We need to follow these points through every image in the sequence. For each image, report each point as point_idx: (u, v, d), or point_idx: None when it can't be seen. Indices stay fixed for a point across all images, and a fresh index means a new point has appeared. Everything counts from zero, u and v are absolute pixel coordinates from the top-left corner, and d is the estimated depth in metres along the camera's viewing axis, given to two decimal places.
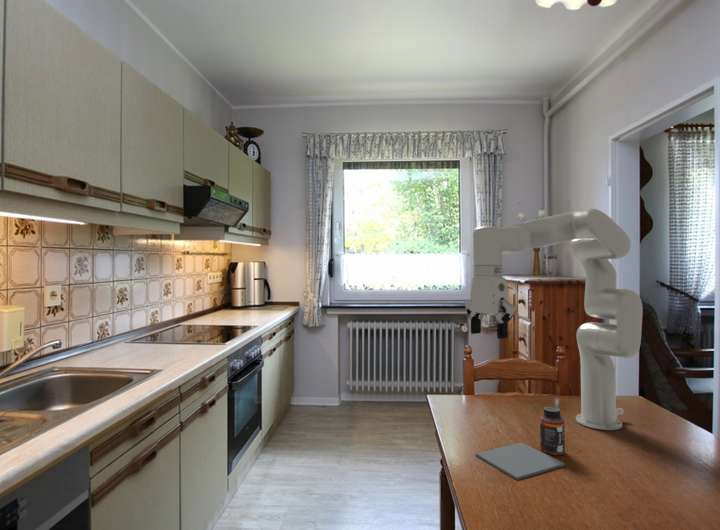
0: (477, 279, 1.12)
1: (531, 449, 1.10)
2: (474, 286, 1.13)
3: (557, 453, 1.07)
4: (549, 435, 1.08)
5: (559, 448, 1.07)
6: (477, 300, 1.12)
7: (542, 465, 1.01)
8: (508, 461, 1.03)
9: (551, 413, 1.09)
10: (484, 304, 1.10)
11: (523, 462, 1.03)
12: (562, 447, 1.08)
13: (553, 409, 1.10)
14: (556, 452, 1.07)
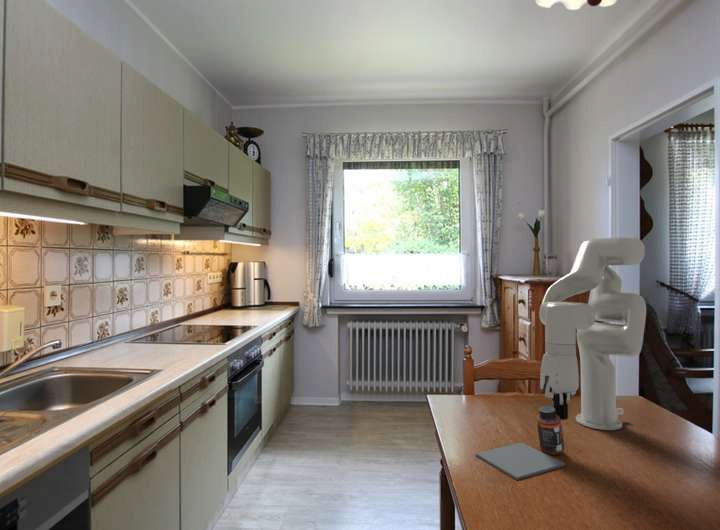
0: (564, 358, 1.09)
1: (531, 449, 1.10)
2: (560, 366, 1.08)
3: (557, 452, 1.07)
4: (547, 436, 1.07)
5: (558, 447, 1.07)
6: (564, 380, 1.09)
7: (542, 465, 1.01)
8: (508, 461, 1.03)
9: (547, 414, 1.08)
10: (570, 382, 1.10)
11: (523, 462, 1.03)
12: (561, 446, 1.07)
13: (548, 409, 1.09)
14: (556, 452, 1.07)
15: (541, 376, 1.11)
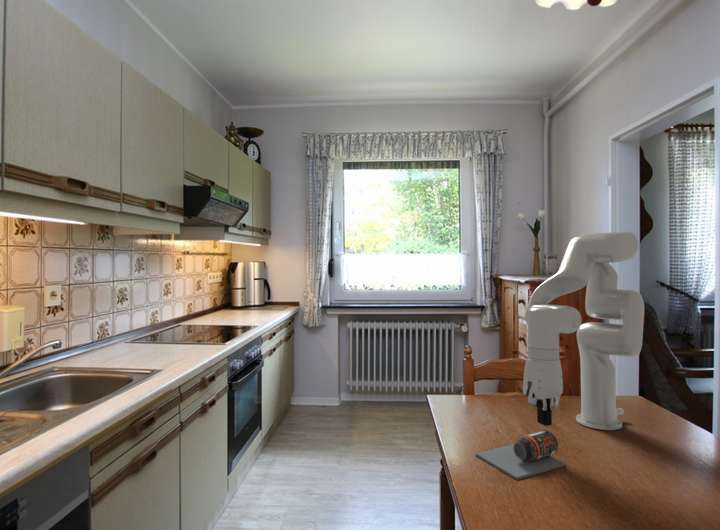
0: (547, 363, 1.07)
1: None
2: (543, 371, 1.06)
3: (553, 453, 1.06)
4: None
5: (551, 454, 1.05)
6: (547, 386, 1.06)
7: (542, 465, 1.01)
8: (508, 461, 1.03)
9: None
10: (554, 388, 1.08)
11: (523, 462, 1.03)
12: (553, 451, 1.04)
13: (520, 451, 1.02)
14: None
15: (524, 381, 1.09)
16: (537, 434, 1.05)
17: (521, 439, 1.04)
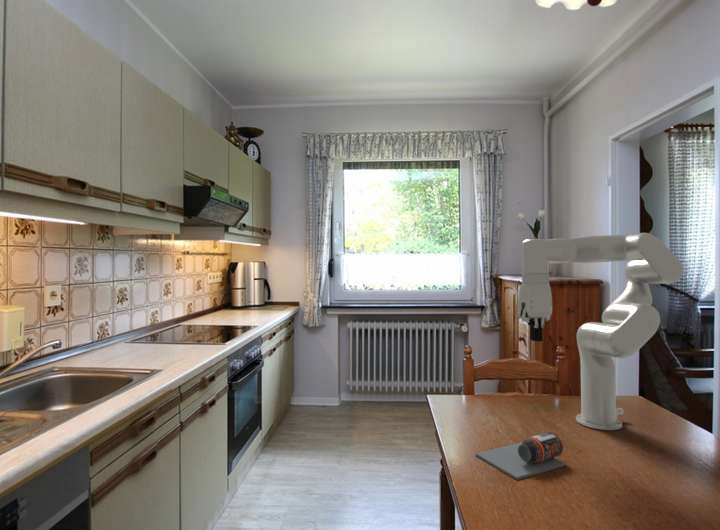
0: (538, 286, 1.22)
1: None
2: (534, 293, 1.22)
3: None
4: None
5: None
6: (538, 306, 1.22)
7: (542, 465, 1.01)
8: (508, 461, 1.03)
9: None
10: (544, 308, 1.23)
11: (523, 462, 1.03)
12: (555, 456, 1.04)
13: (524, 453, 1.01)
14: None
15: (518, 304, 1.25)
16: (546, 439, 1.03)
17: (529, 441, 1.02)
